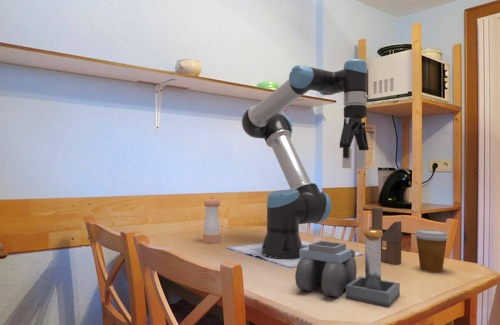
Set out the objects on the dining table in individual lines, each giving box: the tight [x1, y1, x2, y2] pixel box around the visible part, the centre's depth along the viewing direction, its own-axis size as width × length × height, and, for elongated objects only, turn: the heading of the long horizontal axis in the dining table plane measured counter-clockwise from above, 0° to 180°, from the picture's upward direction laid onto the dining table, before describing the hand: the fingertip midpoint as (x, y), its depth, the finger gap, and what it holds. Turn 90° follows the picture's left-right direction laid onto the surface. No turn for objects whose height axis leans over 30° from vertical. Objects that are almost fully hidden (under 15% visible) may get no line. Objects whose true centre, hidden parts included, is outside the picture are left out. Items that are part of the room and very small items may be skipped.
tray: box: [345, 276, 401, 308], centre depth 90 cm, size 10×10×3 cm
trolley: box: [295, 240, 357, 298], centre depth 97 cm, size 11×16×12 cm
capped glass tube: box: [363, 228, 384, 291], centre depth 91 cm, size 4×4×15 cm
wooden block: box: [371, 206, 402, 266], centre depth 128 cm, size 4×11×18 cm, turn 31°
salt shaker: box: [202, 196, 221, 244], centre depth 159 cm, size 7×7×19 cm
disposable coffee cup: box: [414, 228, 449, 273], centre depth 117 cm, size 10×10×12 cm
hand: (354, 168), depth 126 cm, fingers open, 13 cm apart
